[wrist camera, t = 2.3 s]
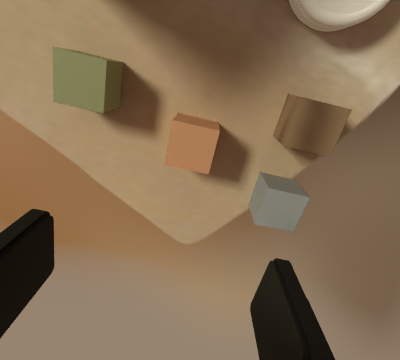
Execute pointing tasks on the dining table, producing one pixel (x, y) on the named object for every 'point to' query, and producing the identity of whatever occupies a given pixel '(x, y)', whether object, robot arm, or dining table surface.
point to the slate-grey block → (277, 202)
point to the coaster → (335, 12)
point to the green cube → (86, 80)
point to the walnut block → (310, 125)
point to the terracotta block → (192, 143)
